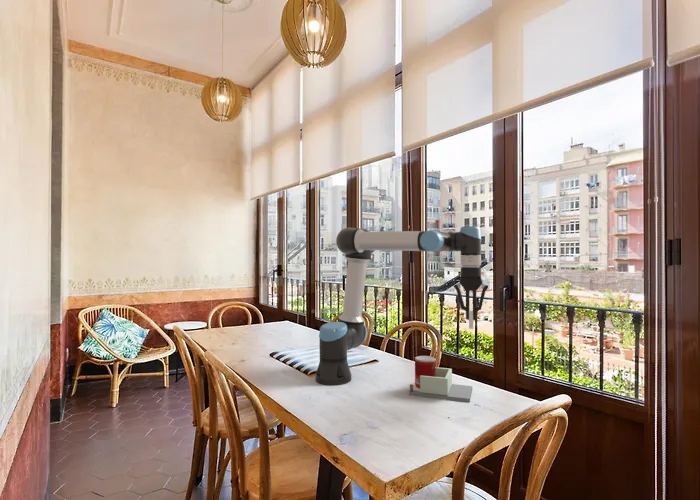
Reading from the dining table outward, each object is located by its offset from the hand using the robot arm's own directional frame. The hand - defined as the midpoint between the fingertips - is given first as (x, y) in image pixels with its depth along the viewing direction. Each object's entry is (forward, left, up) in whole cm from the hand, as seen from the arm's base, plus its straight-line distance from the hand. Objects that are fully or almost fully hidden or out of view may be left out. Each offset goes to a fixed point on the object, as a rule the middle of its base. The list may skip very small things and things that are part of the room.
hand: (471, 328), depth 159 cm
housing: (-13, -4, -23) cm, 27 cm away
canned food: (-17, -4, -23) cm, 29 cm away
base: (-11, -4, -24) cm, 27 cm away
